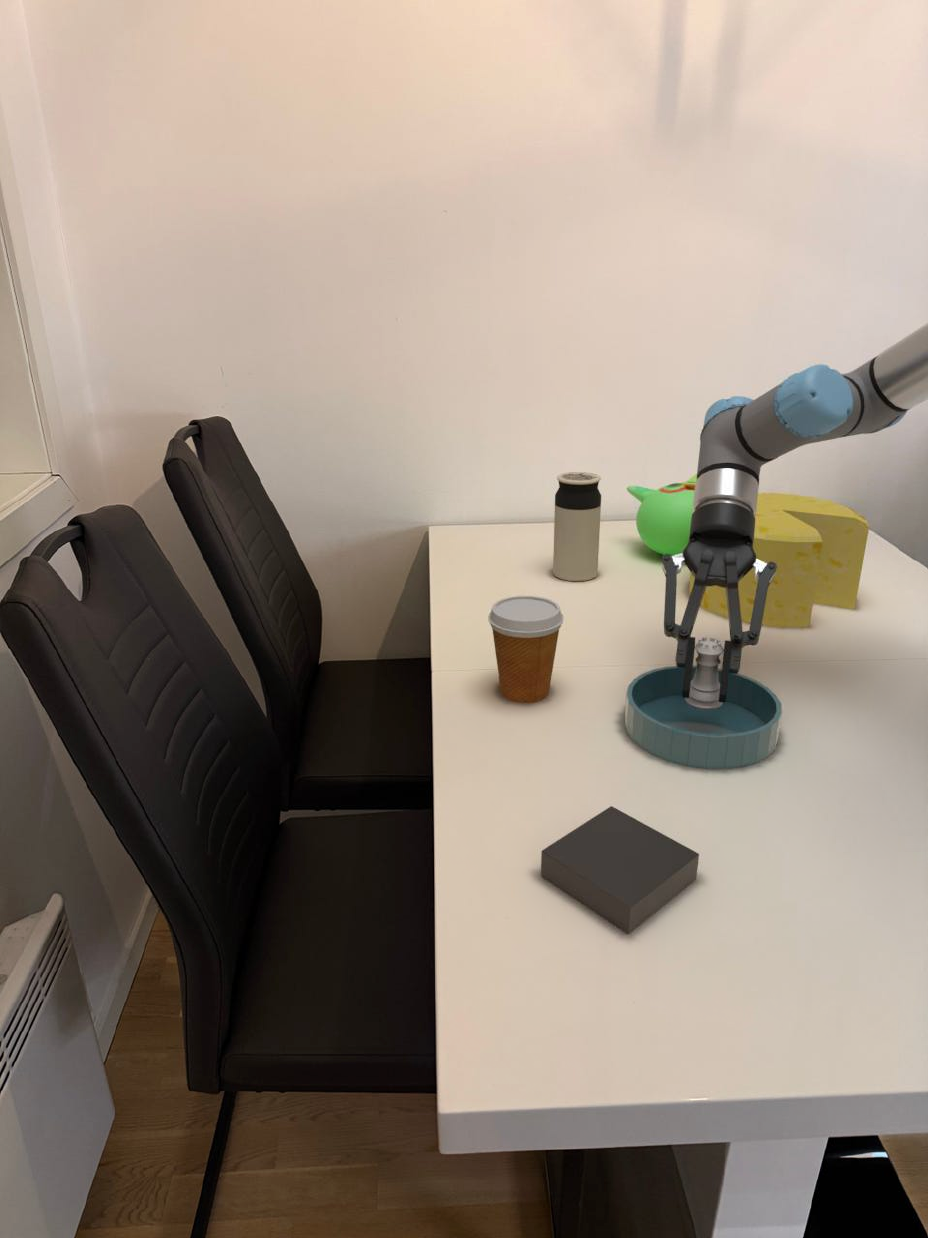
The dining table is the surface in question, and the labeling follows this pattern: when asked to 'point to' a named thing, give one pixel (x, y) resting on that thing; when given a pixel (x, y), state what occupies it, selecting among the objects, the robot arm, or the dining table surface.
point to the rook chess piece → (706, 676)
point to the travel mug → (577, 526)
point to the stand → (619, 868)
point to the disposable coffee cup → (525, 645)
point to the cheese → (799, 559)
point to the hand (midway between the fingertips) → (704, 696)
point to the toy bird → (665, 515)
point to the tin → (702, 721)
